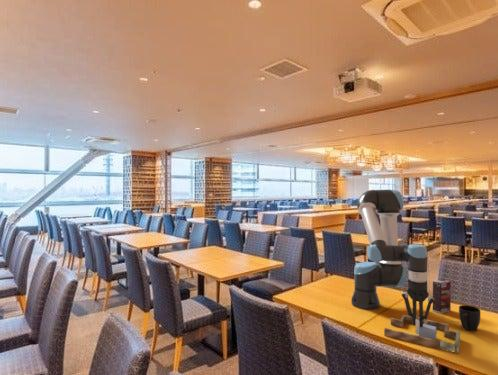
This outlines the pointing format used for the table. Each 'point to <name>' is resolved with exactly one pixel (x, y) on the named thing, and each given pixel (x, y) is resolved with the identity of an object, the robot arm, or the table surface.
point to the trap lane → (425, 340)
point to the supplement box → (442, 296)
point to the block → (427, 331)
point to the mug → (469, 317)
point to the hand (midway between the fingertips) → (418, 333)
